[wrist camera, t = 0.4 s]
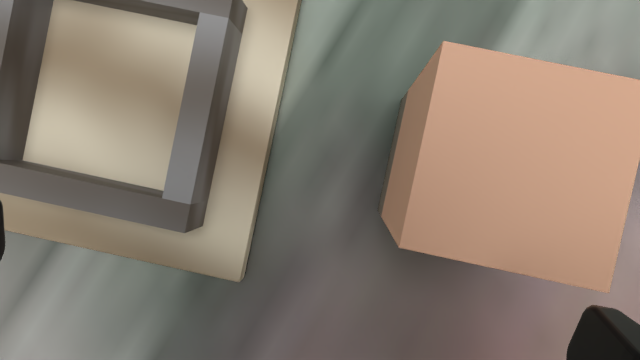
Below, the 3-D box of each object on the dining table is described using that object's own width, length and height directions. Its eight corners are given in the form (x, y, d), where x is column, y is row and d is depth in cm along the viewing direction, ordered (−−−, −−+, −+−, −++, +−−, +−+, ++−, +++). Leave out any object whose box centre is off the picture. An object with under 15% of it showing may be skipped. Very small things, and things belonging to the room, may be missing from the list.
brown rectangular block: (488, 234, 23) (609, 293, 12) (377, 210, 24) (398, 248, 13) (513, 122, 23) (656, 83, 12) (401, 99, 24) (443, 41, 13)
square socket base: (243, 277, 24) (225, 296, 20) (-43, 213, 25) (-109, 221, 21) (306, -22, 24) (298, -55, 20) (13, -80, 24) (-44, -121, 21)
